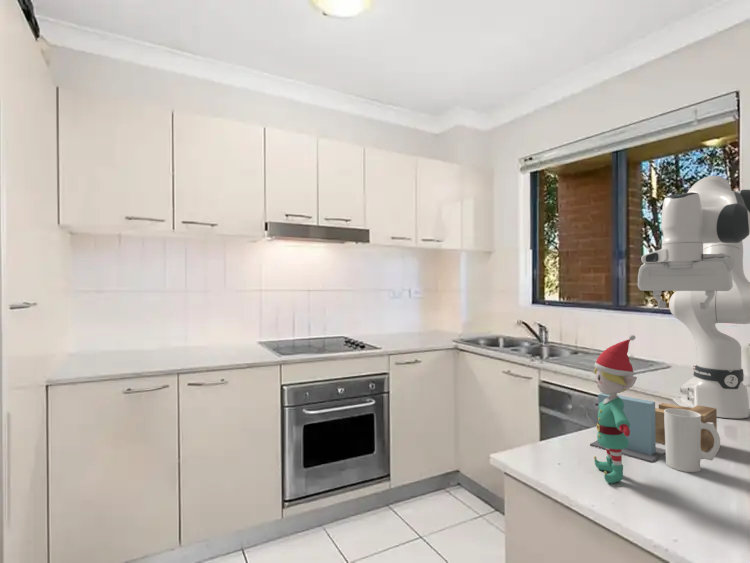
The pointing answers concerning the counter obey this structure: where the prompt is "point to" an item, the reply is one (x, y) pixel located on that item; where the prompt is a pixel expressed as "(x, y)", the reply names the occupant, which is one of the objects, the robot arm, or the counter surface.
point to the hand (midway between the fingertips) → (682, 308)
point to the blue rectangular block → (638, 423)
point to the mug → (686, 439)
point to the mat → (637, 453)
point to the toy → (613, 407)
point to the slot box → (706, 412)
